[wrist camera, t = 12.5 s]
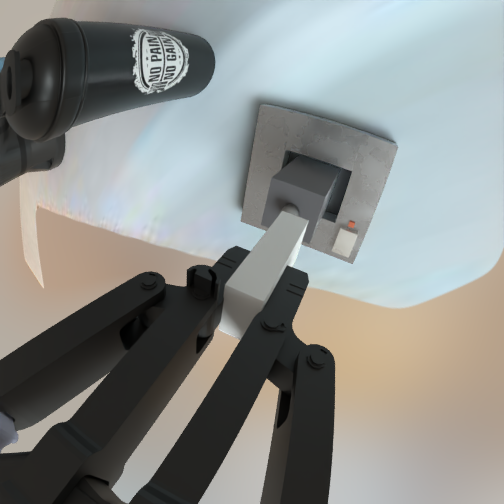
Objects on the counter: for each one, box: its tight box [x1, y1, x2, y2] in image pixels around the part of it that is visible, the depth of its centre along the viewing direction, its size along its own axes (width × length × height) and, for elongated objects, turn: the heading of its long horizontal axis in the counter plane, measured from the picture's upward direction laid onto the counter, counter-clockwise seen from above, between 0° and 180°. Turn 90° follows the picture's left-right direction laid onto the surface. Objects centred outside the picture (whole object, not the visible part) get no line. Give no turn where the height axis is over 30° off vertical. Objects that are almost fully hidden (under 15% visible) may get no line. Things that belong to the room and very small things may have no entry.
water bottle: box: [0, 18, 215, 143], centre depth 19 cm, size 10×10×23 cm
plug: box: [261, 155, 340, 244], centre depth 26 cm, size 4×4×10 cm
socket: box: [241, 104, 398, 264], centre depth 29 cm, size 14×14×3 cm
